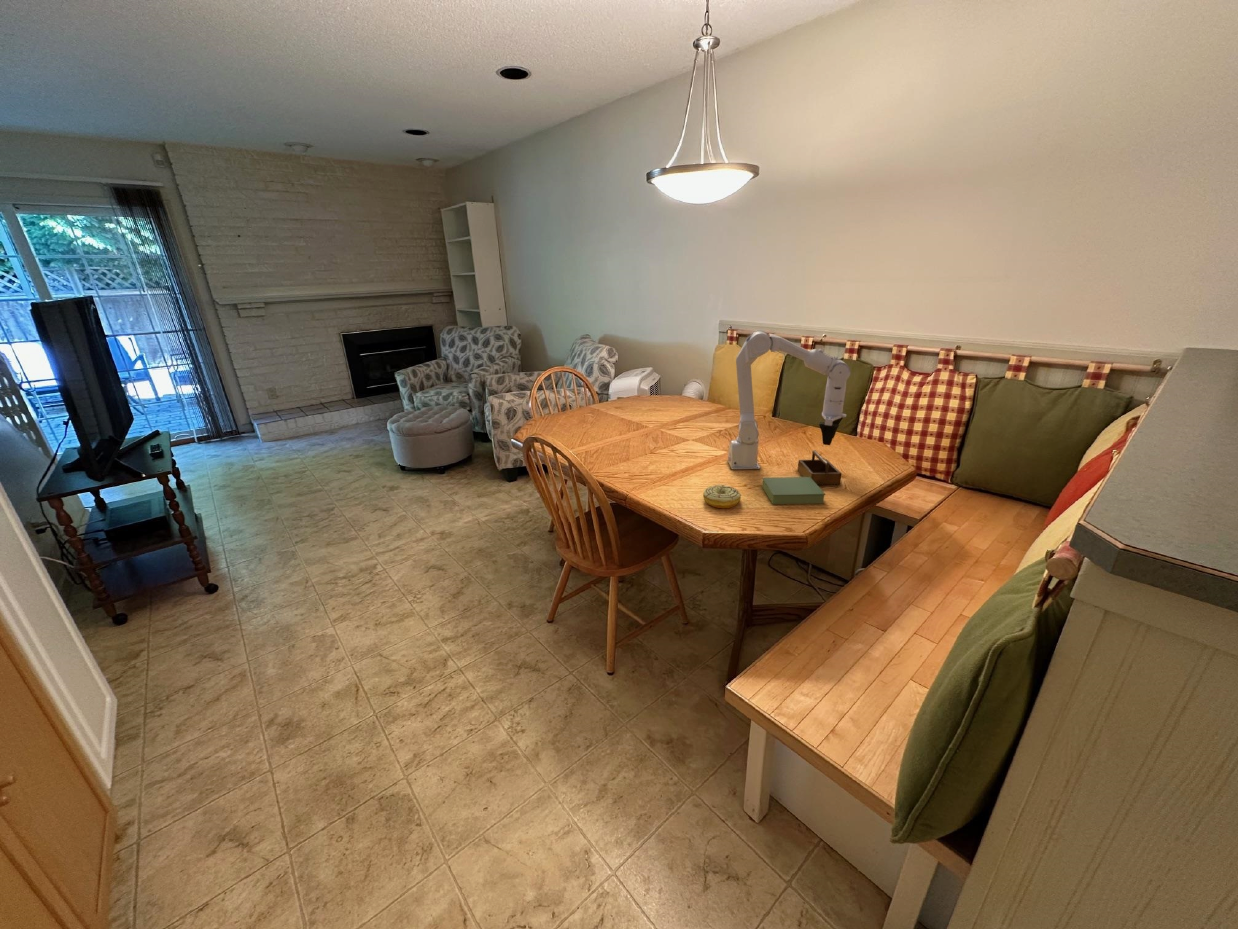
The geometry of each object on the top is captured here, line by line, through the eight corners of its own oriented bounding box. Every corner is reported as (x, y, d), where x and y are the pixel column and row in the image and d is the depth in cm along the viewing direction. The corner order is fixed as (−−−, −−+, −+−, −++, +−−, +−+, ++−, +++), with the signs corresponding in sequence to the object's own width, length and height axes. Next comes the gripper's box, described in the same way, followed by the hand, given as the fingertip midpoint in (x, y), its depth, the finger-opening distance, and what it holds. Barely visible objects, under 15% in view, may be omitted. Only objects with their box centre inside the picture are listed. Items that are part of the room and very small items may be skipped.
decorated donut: (743, 496, 140) (743, 485, 139) (737, 512, 131) (738, 500, 129) (707, 492, 144) (708, 480, 142) (699, 507, 134) (700, 495, 133)
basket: (810, 486, 146) (812, 463, 143) (797, 471, 157) (799, 449, 154) (840, 485, 145) (843, 462, 142) (825, 470, 156) (828, 449, 154)
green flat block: (772, 504, 135) (773, 494, 134) (761, 486, 146) (762, 477, 145) (824, 503, 134) (825, 494, 133) (808, 485, 146) (809, 476, 145)
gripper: (845, 406, 141) (839, 449, 146) (850, 395, 153) (844, 436, 158) (819, 404, 144) (814, 446, 149) (827, 393, 156) (821, 433, 161)
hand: (828, 441), depth 154 cm, fingers open, 7 cm apart
